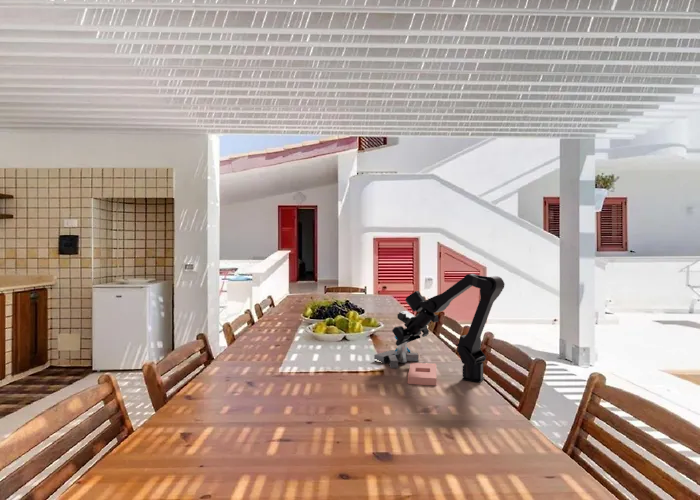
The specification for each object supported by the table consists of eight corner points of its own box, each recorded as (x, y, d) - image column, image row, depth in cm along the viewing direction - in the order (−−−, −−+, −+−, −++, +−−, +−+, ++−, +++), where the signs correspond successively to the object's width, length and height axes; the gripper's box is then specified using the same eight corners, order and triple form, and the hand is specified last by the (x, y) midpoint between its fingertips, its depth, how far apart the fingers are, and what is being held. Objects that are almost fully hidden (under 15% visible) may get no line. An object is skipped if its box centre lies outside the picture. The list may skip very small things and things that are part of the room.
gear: (412, 351, 201) (396, 335, 202) (403, 360, 200) (387, 344, 202) (411, 349, 212) (396, 334, 213) (402, 358, 211) (387, 342, 213)
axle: (408, 361, 185) (408, 330, 185) (400, 362, 184) (400, 331, 184) (403, 359, 189) (403, 329, 189) (395, 360, 187) (395, 329, 187)
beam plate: (410, 368, 178) (410, 362, 178) (436, 370, 176) (436, 363, 176) (407, 383, 158) (407, 376, 158) (436, 385, 157) (436, 378, 157)
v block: (421, 360, 191) (421, 353, 191) (394, 369, 177) (394, 361, 177) (396, 355, 200) (396, 348, 200) (369, 363, 187) (369, 356, 187)
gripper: (422, 303, 190) (401, 326, 198) (395, 307, 177) (374, 331, 184) (438, 323, 185) (416, 346, 193) (412, 329, 171) (389, 353, 179)
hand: (399, 343), depth 187 cm, fingers closed on axle, 4 cm apart
